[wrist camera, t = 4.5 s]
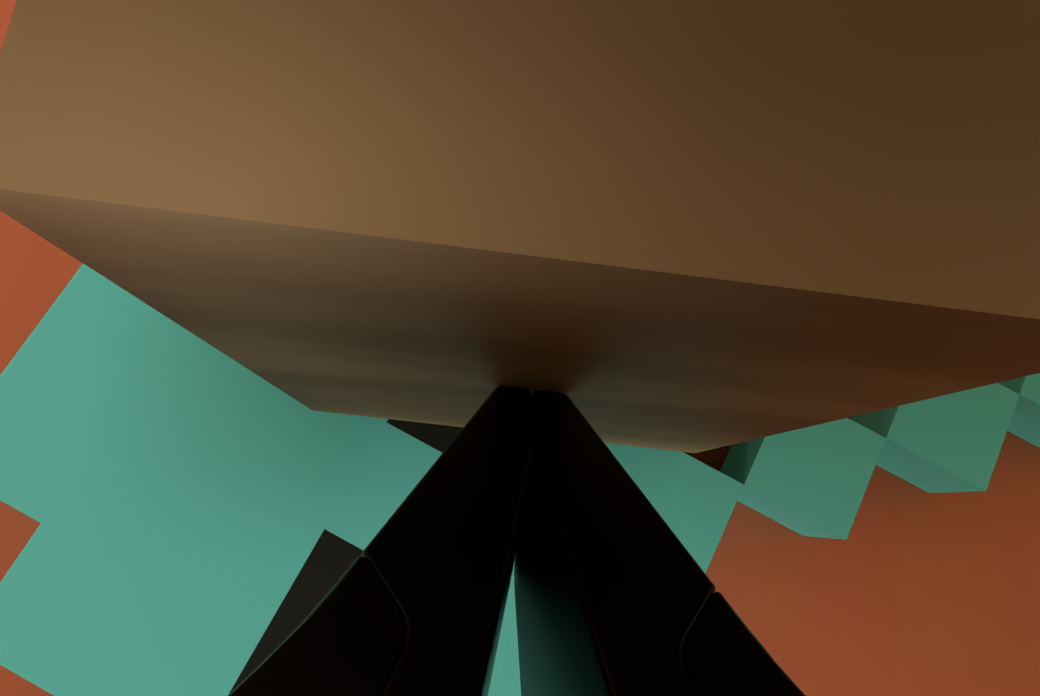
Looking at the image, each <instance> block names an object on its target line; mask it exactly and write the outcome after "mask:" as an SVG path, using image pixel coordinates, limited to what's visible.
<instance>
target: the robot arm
mask: <svg viewBox="0 0 1040 696" xmlns="http://www.w3.org/2000/svg"><path fill="white" fill-rule="evenodd" d="M513 565H514V589H515V606H516V622H517V638H518V653H519V669H520V685H521V696H805V695H804V693H803V692H802V691H801V690H800V689H799V688H798V687H797V686H796V685H795V683H794V682H793V681H792V680H791V679H790V678H789V677H788V676H787V674H786V673H785V672H784V671H783V670H782V669H781V668H780V667H779V665H778V664H777V663H776V662H775V661H774V659H773V658H772V657H771V656H770V655H769V653H768V652H767V651H766V650H765V648H764V647H763V646H762V645H761V643H760V642H759V641H758V640H757V639H756V637H755V636H754V635H753V634H752V632H751V631H750V630H749V629H748V628H747V626H746V625H745V624H744V623H743V621H742V620H741V619H740V618H739V616H738V615H737V614H736V612H735V611H734V610H733V609H732V607H731V606H730V605H729V603H728V602H727V601H726V599H725V598H724V597H723V596H722V594H721V593H719V592H715V586H714V584H713V583H712V582H711V580H710V579H709V578H708V577H707V575H706V574H705V573H704V571H703V570H702V569H701V568H700V566H699V565H698V564H697V562H696V561H695V560H694V558H693V557H692V556H691V555H690V553H689V552H688V551H687V549H686V548H685V547H684V545H683V544H682V543H681V542H680V540H679V539H678V538H677V536H676V535H675V534H674V533H673V531H672V530H671V529H670V527H669V526H668V525H667V523H666V522H665V521H664V520H663V518H662V517H661V516H660V514H659V513H658V512H657V511H656V509H655V508H654V507H653V505H652V504H651V503H650V501H649V500H648V499H647V498H646V496H645V495H644V494H643V492H642V491H641V490H640V488H639V487H638V486H637V485H636V483H635V482H634V481H633V479H632V478H631V477H630V476H629V474H628V473H627V472H626V470H625V469H624V468H623V466H622V465H621V464H620V463H619V461H618V460H617V459H616V457H615V456H614V455H613V453H612V452H611V451H610V450H609V448H608V447H607V446H606V444H605V443H604V442H603V441H602V439H601V438H600V437H599V435H598V434H597V433H596V431H595V430H594V429H593V428H592V426H591V425H590V424H589V422H588V421H587V420H586V419H585V417H584V416H583V415H582V413H581V412H580V411H579V409H578V408H577V407H576V406H575V404H574V403H573V402H572V400H571V399H570V398H569V397H568V396H567V395H566V394H565V393H558V392H550V391H541V390H536V391H533V393H532V394H531V393H530V391H529V390H528V389H524V388H515V387H506V386H498V387H496V388H495V389H494V390H493V392H492V393H491V394H490V395H489V396H488V398H487V399H486V400H485V401H484V403H483V404H482V405H481V406H480V408H479V409H478V410H477V411H476V412H475V414H474V415H473V416H472V417H471V419H470V420H469V421H468V422H467V424H466V425H465V426H464V427H463V428H462V430H461V431H460V432H459V433H458V435H457V436H456V437H455V438H454V440H453V441H452V442H451V443H450V444H449V446H448V447H447V448H446V449H445V451H444V452H443V453H442V454H441V456H440V457H439V458H438V459H437V460H436V462H435V463H434V464H433V465H432V467H431V468H430V469H429V470H428V472H427V473H426V474H425V475H424V476H423V478H422V479H421V480H420V481H419V483H418V484H417V485H416V486H415V488H414V489H413V490H412V491H411V492H410V494H409V495H408V496H407V497H406V499H405V500H404V501H403V502H402V504H401V505H400V506H399V507H398V509H397V510H396V511H395V512H394V513H393V515H392V516H391V517H390V518H389V520H388V521H387V522H386V523H385V525H384V526H383V527H382V528H381V529H380V531H379V532H378V533H377V534H376V536H375V537H374V538H373V539H372V541H371V542H370V543H369V544H368V545H367V547H366V548H365V549H364V550H363V552H362V556H359V557H357V558H356V560H355V561H354V562H353V563H352V565H351V566H350V567H349V568H348V570H347V571H346V572H345V573H344V574H343V576H342V577H341V578H340V579H339V581H338V582H337V583H336V584H335V585H334V587H333V588H332V589H331V590H330V591H329V592H328V593H327V595H326V596H325V597H324V598H323V599H322V600H321V601H320V603H319V604H318V605H317V606H316V607H315V608H314V609H313V611H312V612H311V613H310V614H309V615H308V616H307V617H306V619H305V620H304V621H303V622H302V623H301V624H300V625H299V626H298V627H297V628H296V629H295V630H294V631H293V632H292V633H291V634H290V635H289V636H288V637H287V638H286V639H285V640H284V641H283V642H282V643H281V644H280V645H279V646H278V647H277V648H276V649H275V650H274V651H273V652H272V653H271V654H270V655H269V656H268V657H267V658H266V659H265V660H264V661H263V662H262V663H261V664H260V665H259V666H258V667H257V668H256V669H255V670H254V671H253V672H252V673H251V674H250V675H249V676H248V677H247V678H246V679H245V680H244V681H243V682H241V683H240V684H239V685H238V686H237V687H236V688H235V689H234V690H233V691H232V692H231V693H230V694H229V695H228V696H488V693H489V688H490V683H491V678H492V673H493V668H494V663H495V658H496V653H497V648H498V643H499V638H500V633H501V628H502V623H503V618H504V612H505V607H506V602H507V597H508V592H509V587H510V582H511V576H512V571H513ZM714 592H715V593H714Z"/></svg>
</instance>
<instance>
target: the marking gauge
mask: <svg viewBox="0 0 1040 696" xmlns="http://www.w3.org/2000/svg"><path fill="white" fill-rule="evenodd" d="M0 210H1V211H2V212H4V213H5V214H7V215H9V216H10V217H12V218H13V219H15V220H16V221H18V222H19V223H21V224H23V225H24V226H26V227H27V228H29V229H30V230H32V231H33V232H35V233H37V234H38V235H40V236H41V237H43V238H44V239H46V240H48V241H49V242H51V243H52V244H54V245H55V246H57V247H58V248H60V249H62V250H63V251H65V252H66V253H68V254H69V255H71V256H72V257H74V258H76V259H77V260H79V261H80V262H82V263H83V264H85V265H86V266H88V267H90V268H91V269H93V270H94V271H96V272H97V273H99V274H100V275H102V276H104V277H105V278H107V279H108V280H110V281H111V282H113V283H115V284H116V285H118V286H119V287H121V288H122V289H124V290H125V291H127V292H129V293H130V294H132V295H133V296H135V297H136V298H138V299H139V300H141V301H143V302H144V303H146V304H147V305H149V306H150V307H152V308H153V309H155V310H157V311H158V312H160V313H161V314H163V315H164V316H166V317H167V318H169V319H171V320H172V321H174V322H175V323H177V324H178V325H180V326H182V327H183V328H185V329H186V330H188V331H189V332H191V333H192V334H194V335H196V336H197V337H199V338H200V339H202V340H203V341H205V342H206V343H208V344H210V345H211V346H213V347H214V348H216V349H217V350H219V351H220V352H222V353H224V354H225V355H227V356H228V357H230V358H231V359H233V360H234V361H236V362H238V363H239V364H241V365H242V366H244V367H245V368H247V369H249V370H250V371H252V372H253V373H255V374H256V375H258V376H259V377H261V378H263V379H264V380H266V381H267V382H269V383H270V384H272V385H273V386H275V387H277V388H278V389H280V390H281V391H283V392H284V393H286V394H287V395H289V396H291V397H292V398H294V399H295V400H297V401H298V402H300V403H301V404H303V405H305V406H306V407H308V408H309V409H311V410H312V411H321V412H330V413H339V414H348V415H357V416H366V417H375V418H384V419H393V420H402V421H411V422H420V423H429V424H438V425H447V426H456V427H464V426H465V425H466V424H467V422H468V421H469V420H470V419H471V417H472V416H473V415H474V414H475V412H476V411H477V410H478V409H479V408H480V406H481V405H482V404H483V403H484V401H485V400H486V399H487V398H488V396H489V395H490V394H491V393H492V392H493V390H494V389H495V388H496V387H498V386H506V387H515V388H524V389H528V390H529V391H530V393H531V394H532V393H533V391H536V390H541V391H550V392H558V393H565V394H566V395H567V396H568V397H569V398H570V399H571V400H572V402H573V403H574V404H575V406H576V407H577V408H578V409H579V411H580V412H581V413H582V415H583V416H584V417H585V419H586V420H587V421H588V422H589V424H590V425H591V426H592V428H593V429H594V430H595V431H596V433H597V434H598V435H599V437H600V438H601V439H602V441H603V442H604V443H608V444H617V445H626V446H635V447H644V448H653V449H662V450H671V451H680V452H689V453H698V452H703V451H707V450H711V449H716V448H720V447H724V446H728V445H733V444H737V443H741V442H746V441H750V440H754V439H758V438H763V437H767V436H771V435H776V434H780V433H784V432H788V431H793V430H797V429H801V428H806V427H810V426H814V425H819V424H823V423H827V422H831V421H836V420H840V419H844V418H849V417H853V416H857V415H861V414H866V413H870V412H874V411H879V410H883V409H887V408H891V407H896V406H900V405H904V404H909V403H913V402H917V401H922V400H926V399H930V398H934V397H939V396H943V395H947V394H952V393H956V392H960V391H964V390H969V389H973V388H977V387H982V386H986V385H990V384H994V383H999V382H1003V381H1007V380H1012V379H1016V378H1020V377H1025V376H1029V375H1033V374H1037V373H1040V0H17V1H16V5H15V8H14V11H13V14H12V17H11V21H10V24H9V27H8V30H7V33H6V37H5V40H4V43H3V46H2V49H1V53H0Z"/></svg>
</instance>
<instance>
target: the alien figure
mask: <svg viewBox="0 0 1040 696" xmlns="http://www.w3.org/2000/svg"><path fill="white" fill-rule="evenodd" d="M462 428H463V427H456V426H447V425H438V424H429V423H420V422H411V421H402V420H393V419H384V418H375V417H366V416H357V415H348V414H339V413H330V412H321V411H312V410H311V409H309V408H308V407H306V406H305V405H303V404H301V403H300V402H298V401H297V400H295V399H294V398H292V397H291V396H289V395H287V394H286V393H284V392H283V391H281V390H280V389H278V388H277V387H275V386H273V385H272V384H270V383H269V382H267V381H266V380H264V379H263V378H261V377H259V376H258V375H256V374H255V373H253V372H252V371H250V370H249V369H247V368H245V367H244V366H242V365H241V364H239V363H238V362H236V361H234V360H233V359H231V358H230V357H228V356H227V355H225V354H224V353H222V352H220V351H219V350H217V349H216V348H214V347H213V346H211V345H210V344H208V343H206V342H205V341H203V340H202V339H200V338H199V337H197V336H196V335H194V334H192V333H191V332H189V331H188V330H186V329H185V328H183V327H182V326H180V325H178V324H177V323H175V322H174V321H172V320H171V319H169V318H167V317H166V316H164V315H163V314H161V313H160V312H158V311H157V310H155V309H153V308H152V307H150V306H149V305H147V304H146V303H144V302H143V301H141V300H139V299H138V298H136V297H135V296H133V295H132V294H130V293H129V292H127V291H125V290H124V289H122V288H121V287H119V286H118V285H116V284H115V283H113V282H111V281H110V280H108V279H107V278H105V277H104V276H102V275H100V274H99V273H97V272H96V271H94V270H93V269H91V268H90V267H88V266H86V265H85V264H82V266H81V267H80V268H79V270H78V271H77V272H76V274H75V275H74V277H73V278H72V279H71V281H70V282H69V283H68V285H67V286H66V287H65V289H64V290H63V291H62V293H61V294H60V295H59V297H58V298H57V299H56V301H55V302H54V304H53V305H52V306H51V308H50V309H49V310H48V312H47V313H46V314H45V316H44V317H43V318H42V320H41V321H40V322H39V324H38V325H37V327H36V328H35V329H34V331H33V332H32V333H31V335H30V336H29V337H28V339H27V340H26V341H25V343H24V344H23V345H22V347H21V348H20V349H19V351H18V352H17V354H16V355H15V356H14V358H13V359H12V360H11V362H10V363H9V364H8V366H7V367H6V368H5V370H4V371H3V372H2V374H1V375H0V500H1V501H3V502H4V503H6V504H8V505H10V506H11V507H13V508H15V509H17V510H19V511H20V512H22V513H24V514H26V515H28V516H29V517H31V518H33V519H35V520H36V521H38V522H40V523H41V524H40V525H39V527H38V528H37V530H36V531H35V533H34V534H33V536H32V537H31V539H30V540H29V541H28V543H27V544H26V546H25V547H24V549H23V550H22V552H21V553H20V555H19V556H18V557H17V559H16V560H15V562H14V563H13V565H12V566H11V568H10V569H9V571H8V572H7V574H6V575H5V576H4V578H3V579H2V581H1V582H0V665H1V666H3V667H5V668H7V669H8V670H10V671H12V672H14V673H15V674H17V675H19V676H21V677H22V678H24V679H26V680H28V681H29V682H31V683H33V684H35V685H36V686H38V687H40V688H42V689H43V690H45V691H47V692H49V693H50V694H52V695H54V696H228V695H229V694H230V693H231V692H232V691H233V690H234V689H235V688H236V687H237V686H238V685H239V684H240V683H241V682H243V681H244V680H245V679H246V678H247V677H248V676H249V675H250V674H251V673H252V672H253V671H254V670H255V669H256V668H257V667H258V666H259V665H260V664H261V663H262V662H263V661H264V660H265V659H266V658H267V657H268V656H269V655H270V654H271V653H272V652H273V651H274V650H275V649H276V648H277V647H278V646H279V645H280V644H281V643H282V642H283V641H284V640H285V639H286V638H287V637H288V636H289V635H290V634H291V633H292V632H293V631H294V630H295V629H296V628H297V627H298V626H299V625H300V624H301V623H302V622H303V621H304V620H305V619H306V617H307V616H308V615H309V614H310V613H311V612H312V611H313V609H314V608H315V607H316V606H317V605H318V604H319V603H320V601H321V600H322V599H323V598H324V597H325V596H326V595H327V593H328V592H329V591H330V590H331V589H332V588H333V587H334V585H335V584H336V583H337V582H338V581H339V579H340V578H341V577H342V576H343V574H344V573H345V572H346V571H347V570H348V568H349V567H350V566H351V565H352V563H353V562H354V561H355V560H356V558H357V557H359V556H362V552H363V550H364V549H365V548H366V547H367V545H368V544H369V543H370V542H371V541H372V539H373V538H374V537H375V536H376V534H377V533H378V532H379V531H380V529H381V528H382V527H383V526H384V525H385V523H386V522H387V521H388V520H389V518H390V517H391V516H392V515H393V513H394V512H395V511H396V510H397V509H398V507H399V506H400V505H401V504H402V502H403V501H404V500H405V499H406V497H407V496H408V495H409V494H410V492H411V491H412V490H413V489H414V488H415V486H416V485H417V484H418V483H419V481H420V480H421V479H422V478H423V476H424V475H425V474H426V473H427V472H428V470H429V469H430V468H431V467H432V465H433V464H434V463H435V462H436V460H437V459H438V458H439V457H440V456H441V454H442V453H443V452H444V451H445V449H446V448H447V447H448V446H449V444H450V443H451V442H452V441H453V440H454V438H455V437H456V436H457V435H458V433H459V432H460V431H461V430H462ZM1007 431H1008V432H1010V433H1012V434H1014V435H1016V436H1018V437H1020V438H1022V439H1023V440H1025V441H1027V442H1029V443H1031V444H1033V445H1035V446H1037V447H1039V448H1040V373H1037V374H1033V375H1029V376H1025V377H1020V378H1016V379H1012V380H1007V381H1003V382H999V383H994V384H990V385H986V386H982V387H977V388H973V389H969V390H964V391H960V392H956V393H952V394H947V395H943V396H939V397H934V398H930V399H926V400H922V401H917V402H913V403H909V404H904V405H900V406H896V407H891V408H887V409H883V410H879V411H874V412H870V413H866V414H861V415H857V416H853V417H851V419H849V418H844V419H840V420H836V421H831V422H827V423H823V424H819V425H814V426H810V427H806V428H801V429H797V430H793V431H788V432H784V433H780V434H776V435H771V436H767V437H763V438H758V439H754V440H750V441H746V442H741V443H737V444H733V445H731V447H730V450H729V452H728V454H727V456H726V459H725V461H724V463H723V465H722V467H721V470H720V472H719V471H717V470H715V469H714V468H712V467H710V466H708V465H706V464H704V463H702V462H701V461H699V460H697V459H695V458H693V457H691V456H689V455H687V454H686V453H684V452H680V451H671V450H662V449H653V448H644V447H635V446H626V445H617V444H608V443H605V444H606V446H607V447H608V448H609V450H610V451H611V452H612V453H613V455H614V456H615V457H616V459H617V460H618V461H619V463H620V464H621V465H622V466H623V468H624V469H625V470H626V472H627V473H628V474H629V476H630V477H631V478H632V479H633V481H634V482H635V483H636V485H637V486H638V487H639V488H640V490H641V491H642V492H643V494H644V495H645V496H646V498H647V499H648V500H649V501H650V503H651V504H652V505H653V507H654V508H655V509H656V511H657V512H658V513H659V514H660V516H661V517H662V518H663V520H664V521H665V522H666V523H667V525H668V526H669V527H670V529H671V530H672V531H673V533H674V534H675V535H676V536H677V538H678V539H679V540H680V542H681V543H682V544H683V545H684V547H685V548H686V549H687V551H688V552H689V553H690V555H691V556H692V557H693V558H694V560H695V561H696V562H697V564H698V565H699V566H700V568H701V569H702V570H703V571H704V573H705V574H706V571H707V569H708V567H709V564H710V562H711V560H712V557H713V555H714V553H715V551H716V548H717V546H718V544H719V541H720V539H721V537H722V535H723V532H724V530H725V528H726V525H727V523H728V521H729V518H730V516H731V514H732V512H733V509H734V507H735V505H736V502H737V501H739V502H741V503H743V504H745V505H746V506H748V507H750V508H752V509H754V510H756V511H758V512H759V513H761V514H763V515H765V516H767V517H769V518H771V519H773V520H774V521H776V522H778V523H780V524H782V525H784V526H786V527H787V528H789V529H791V530H793V531H795V532H797V533H799V534H800V535H802V536H808V537H820V538H832V539H844V540H847V538H848V535H849V532H850V530H851V527H852V525H853V522H854V520H855V517H856V514H857V512H858V509H859V507H860V504H861V502H862V499H863V496H864V494H865V491H866V489H867V486H868V484H869V481H870V478H871V476H872V473H873V471H874V468H875V466H876V465H877V466H879V467H881V468H883V469H885V470H887V471H888V472H890V473H892V474H894V475H896V476H898V477H900V478H902V479H904V480H905V481H907V482H909V483H911V484H913V485H915V486H917V487H919V488H920V489H922V490H924V491H926V492H928V493H944V492H977V491H987V488H988V485H989V482H990V479H991V476H992V473H993V470H994V467H995V464H996V462H997V459H998V456H999V453H1000V450H1001V447H1002V444H1003V441H1004V438H1005V435H1006V432H1007ZM488 696H521V685H520V669H519V653H518V638H517V622H516V606H515V589H514V565H513V571H512V576H511V582H510V587H509V592H508V597H507V602H506V607H505V612H504V618H503V623H502V628H501V633H500V638H499V643H498V648H497V653H496V658H495V663H494V668H493V673H492V678H491V683H490V688H489V693H488Z"/></svg>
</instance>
